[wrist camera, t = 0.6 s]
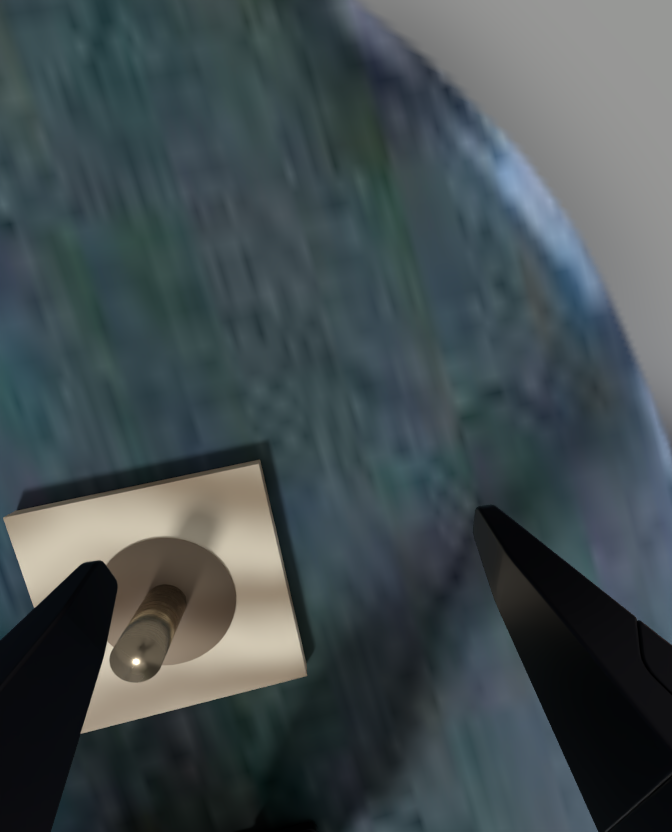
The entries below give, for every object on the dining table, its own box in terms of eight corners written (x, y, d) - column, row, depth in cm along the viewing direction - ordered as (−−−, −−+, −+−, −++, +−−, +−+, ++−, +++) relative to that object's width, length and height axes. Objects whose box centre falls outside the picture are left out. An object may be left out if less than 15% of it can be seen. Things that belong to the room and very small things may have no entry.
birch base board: (306, 663, 26) (307, 677, 25) (86, 719, 25) (76, 736, 24) (260, 459, 24) (258, 464, 23) (15, 510, 23) (1, 518, 21)
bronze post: (191, 615, 24) (167, 675, 19) (150, 625, 23) (117, 688, 19) (181, 579, 23) (155, 631, 19) (139, 588, 23) (103, 643, 19)
